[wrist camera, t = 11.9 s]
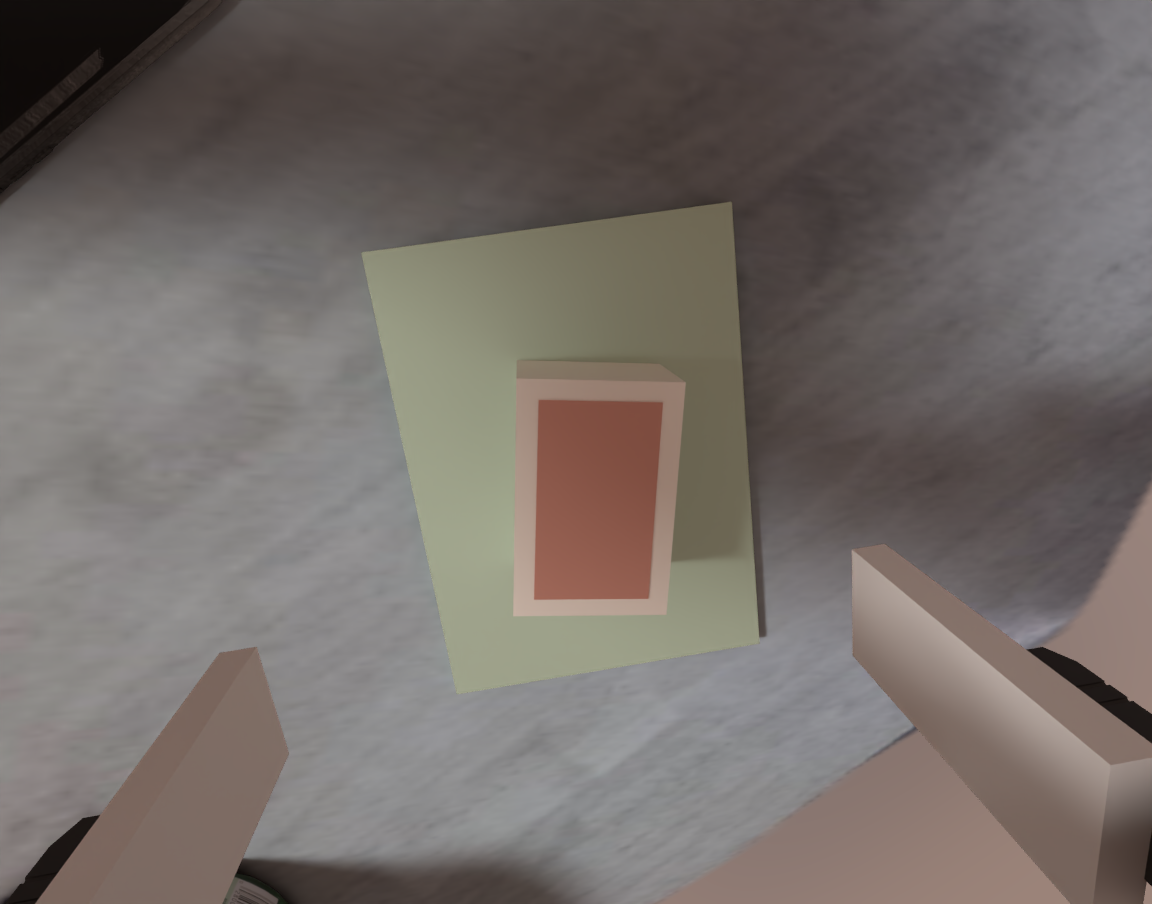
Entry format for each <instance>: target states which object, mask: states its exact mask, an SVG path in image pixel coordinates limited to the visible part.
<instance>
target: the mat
mask: <svg viewBox="0 0 1152 904" xmlns="http://www.w3.org/2000/svg"><path fill="white" fill-rule="evenodd" d="M361 254H362V258H363V263H364V268H365V272H366V277H367V282H368V286H369V291H370V295H371V300H372V305H373V309H374V314H375V319H376V323H377V328H378V332H379V337H380V342H381V346H382V351H383V355H384V360H385V365H386V369H387V374H388V379H389V383H390V388H391V392H392V397H393V402H394V406H395V411H396V415H397V420H398V425H399V429H400V434H401V439H402V443H403V448H404V452H405V457H406V462H407V466H408V471H409V476H410V480H411V485H412V489H413V494H414V499H415V503H416V508H417V512H418V517H419V522H420V526H421V531H422V536H423V540H424V545H425V549H426V554H427V559H428V563H429V568H430V573H431V577H432V582H433V586H434V591H435V596H436V600H437V605H438V609H439V614H440V619H441V623H442V628H443V633H444V637H445V642H446V646H447V651H448V656H449V660H450V665H451V670H452V674H453V679H454V683H455V688H456V693H457V694H462V693H468V692H474V691H480V690H486V689H492V688H498V687H504V686H510V685H515V684H521V683H527V682H533V681H539V680H545V679H551V678H557V677H563V676H569V675H575V674H581V673H587V672H593V671H599V670H605V669H611V668H617V667H623V666H629V665H634V664H640V663H646V662H652V661H658V660H664V659H670V658H676V657H682V656H688V655H694V654H700V653H706V652H712V651H718V650H724V649H730V648H736V647H742V646H748V645H753V644H759V627H758V611H757V595H756V579H755V563H754V547H753V531H752V515H751V499H750V483H749V467H748V452H747V436H746V420H745V404H744V388H743V372H742V356H741V340H740V324H739V308H738V292H737V276H736V260H735V244H734V228H733V212H732V202H726V203H718V204H711V205H704V206H697V207H689V208H682V209H675V210H667V211H660V212H653V213H646V214H638V215H631V216H624V217H616V218H609V219H602V220H595V221H587V222H580V223H573V224H565V225H558V226H551V227H544V228H536V229H529V230H522V231H514V232H507V233H500V234H493V235H485V236H478V237H471V238H463V239H456V240H449V241H442V242H434V243H427V244H420V245H413V246H405V247H398V248H391V249H383V250H376V251H369V252H362V253H361ZM517 360H536V361H575V362H613V363H652V364H660V365H662V366H663V367H665V368H666V369H667V370H669V371H670V372H672V373H673V374H675V375H676V376H677V377H679V378H680V379H682V380H683V381H685V382H686V386H685V398H684V410H683V422H682V434H681V446H680V458H679V470H678V482H677V494H676V506H675V518H674V530H673V542H672V554H671V566H670V578H669V590H668V602H667V614H666V615H600V616H513V595H514V518H515V444H516V369H517Z"/></svg>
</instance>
